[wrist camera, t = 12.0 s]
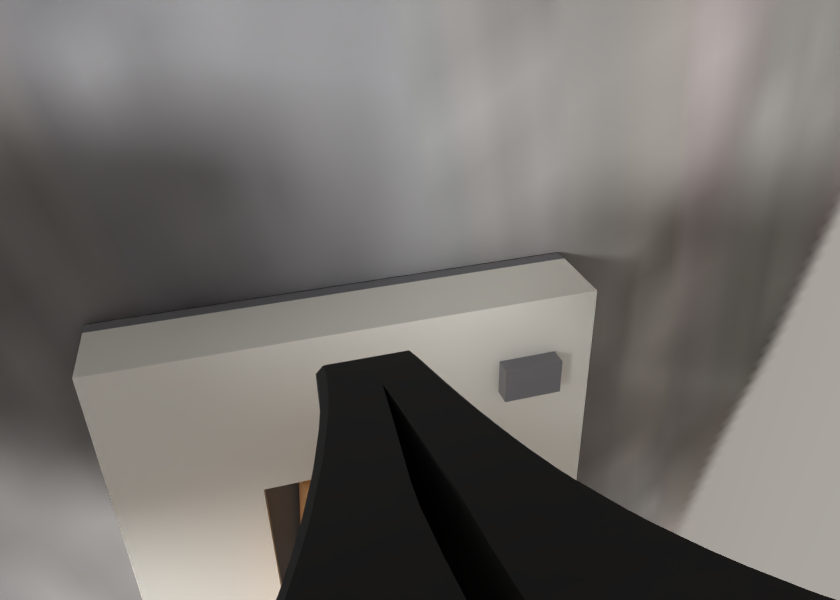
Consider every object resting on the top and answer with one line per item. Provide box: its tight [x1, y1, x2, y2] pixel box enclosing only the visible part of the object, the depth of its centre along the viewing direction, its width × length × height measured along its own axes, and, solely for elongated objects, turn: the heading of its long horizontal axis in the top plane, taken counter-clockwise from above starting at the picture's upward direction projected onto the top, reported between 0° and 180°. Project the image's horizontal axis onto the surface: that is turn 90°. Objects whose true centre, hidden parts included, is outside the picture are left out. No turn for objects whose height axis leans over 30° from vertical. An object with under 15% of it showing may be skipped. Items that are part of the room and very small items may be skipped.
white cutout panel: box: [72, 253, 597, 600], centre depth 23 cm, size 13×16×3 cm
